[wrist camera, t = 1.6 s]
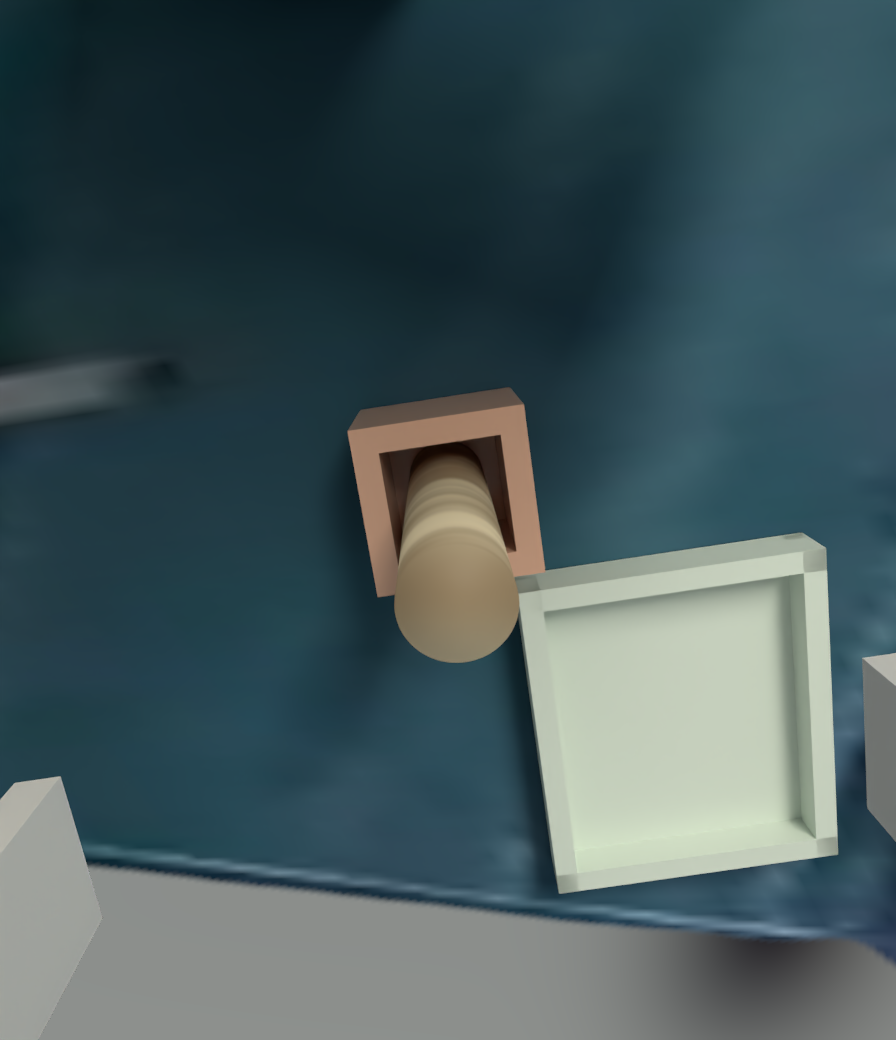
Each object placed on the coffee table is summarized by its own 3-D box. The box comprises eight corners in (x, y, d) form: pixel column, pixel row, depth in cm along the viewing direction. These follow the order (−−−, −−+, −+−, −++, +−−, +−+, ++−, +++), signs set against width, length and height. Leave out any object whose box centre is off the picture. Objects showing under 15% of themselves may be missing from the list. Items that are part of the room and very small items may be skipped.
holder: (360, 409, 38) (347, 430, 32) (509, 386, 38) (523, 404, 32) (385, 552, 39) (377, 597, 34) (528, 530, 39) (545, 572, 33)
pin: (404, 446, 37) (384, 555, 22) (477, 434, 37) (510, 536, 22) (416, 516, 38) (405, 671, 22) (488, 506, 38) (526, 653, 22)
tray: (512, 575, 40) (517, 593, 37) (801, 532, 39) (826, 548, 37) (552, 860, 44) (559, 893, 41) (815, 823, 43) (838, 854, 41)
